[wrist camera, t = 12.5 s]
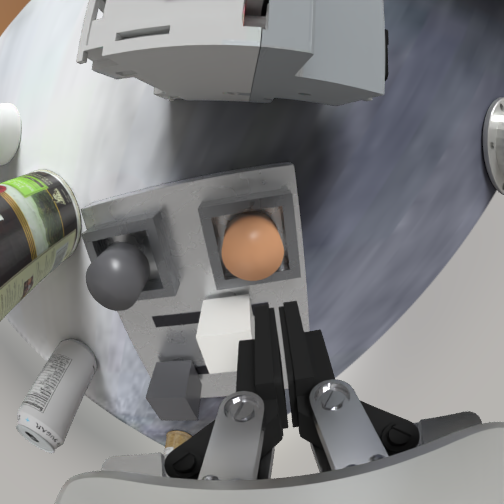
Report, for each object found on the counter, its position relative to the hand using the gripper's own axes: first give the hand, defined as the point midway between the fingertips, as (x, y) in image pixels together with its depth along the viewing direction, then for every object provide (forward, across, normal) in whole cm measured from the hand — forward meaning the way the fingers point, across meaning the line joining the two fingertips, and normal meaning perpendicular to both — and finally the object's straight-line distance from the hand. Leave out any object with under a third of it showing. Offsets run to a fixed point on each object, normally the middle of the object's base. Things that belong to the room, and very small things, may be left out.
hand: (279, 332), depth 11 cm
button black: (+10, +11, 0) cm, 15 cm away
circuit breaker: (+15, -2, -14) cm, 21 cm away
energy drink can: (+14, +26, +13) cm, 33 cm away
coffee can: (+14, +22, -5) cm, 27 cm away
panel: (+14, +6, +7) cm, 17 cm away
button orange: (+12, +1, 0) cm, 12 cm away
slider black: (+11, +11, +14) cm, 21 cm away
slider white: (+12, +4, +7) cm, 14 cm away
